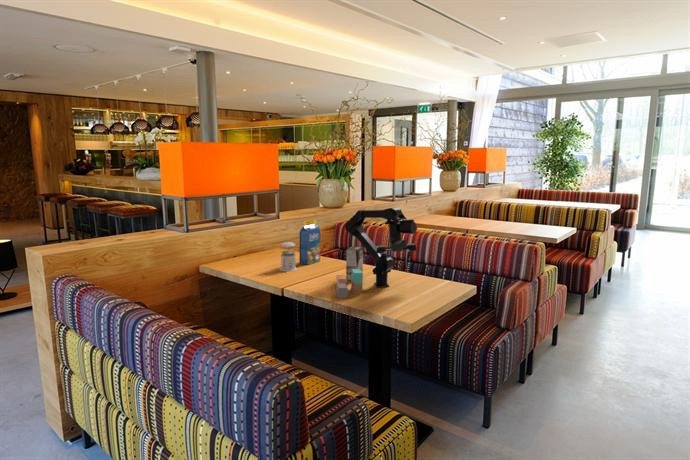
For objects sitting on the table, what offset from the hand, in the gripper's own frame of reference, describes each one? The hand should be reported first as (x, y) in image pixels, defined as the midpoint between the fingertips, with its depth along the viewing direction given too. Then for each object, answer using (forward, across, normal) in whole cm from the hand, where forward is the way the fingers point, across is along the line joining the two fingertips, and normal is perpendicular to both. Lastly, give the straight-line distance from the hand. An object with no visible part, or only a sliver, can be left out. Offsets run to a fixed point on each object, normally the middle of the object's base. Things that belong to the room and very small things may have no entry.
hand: (397, 266), depth 216 cm
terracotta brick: (+9, -27, +2) cm, 29 cm away
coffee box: (+8, -21, +18) cm, 29 cm away
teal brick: (+5, -20, -5) cm, 21 cm away
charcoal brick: (+10, -27, -12) cm, 31 cm away
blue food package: (+4, -46, +50) cm, 68 cm away
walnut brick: (+10, -20, -4) cm, 23 cm away
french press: (+4, -57, +33) cm, 66 cm away
